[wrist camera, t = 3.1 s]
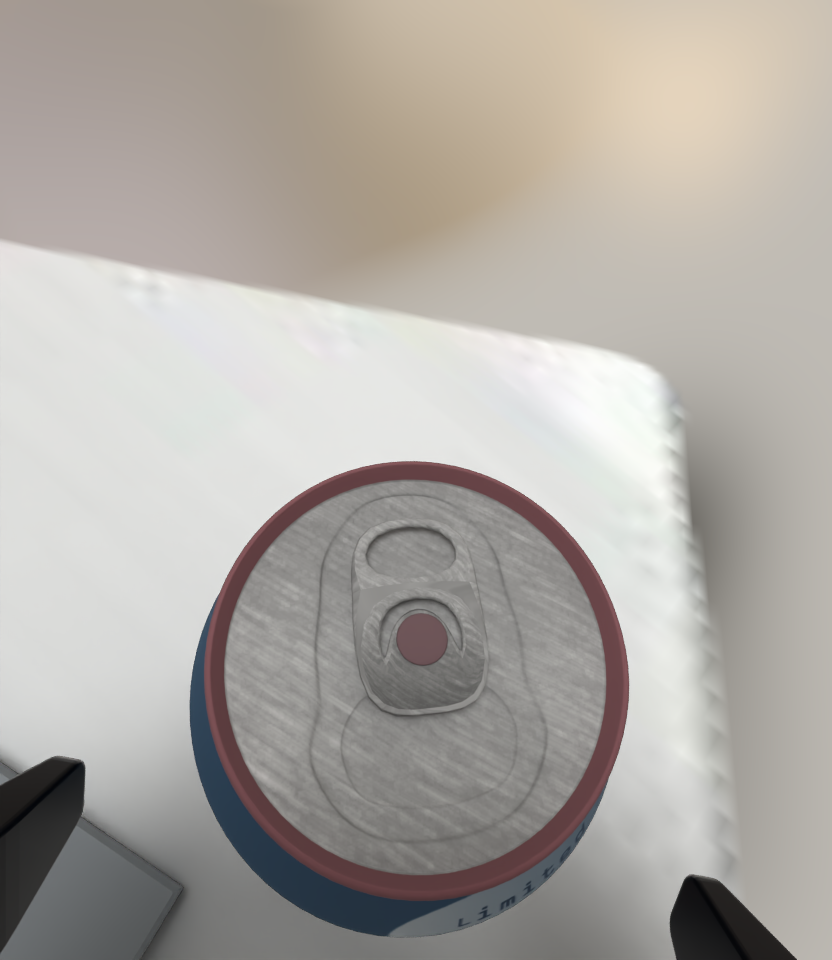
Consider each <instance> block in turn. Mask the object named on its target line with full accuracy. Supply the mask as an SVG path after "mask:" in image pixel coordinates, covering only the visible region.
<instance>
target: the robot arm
mask: <svg viewBox="0 0 832 960" xmlns="http://www.w3.org/2000/svg"><path fill="white" fill-rule="evenodd" d="M84 790H85V764H84V762H83V761H81V760H79V759H74V758H69V757H63V756H54V757H51V758H49V759H47V760H45V761H43V762H41V763H40V764H38V765H36V766H34V767H32V768H30V769H28V770H27V771H25V772H23V773H21V774H19V775H17V776H15V777H13V778H12V779H10V780H8V781H6V782H4V783H2V784H0V954H1V952H2V951H3V949H4V948H5V946H6V944H7V943H8V941H9V940H10V938H11V936H12V935H13V933H14V931H15V930H16V928H17V926H18V925H19V923H20V921H21V920H22V918H23V916H24V914H25V913H26V911H27V909H28V908H29V906H30V904H31V902H32V901H33V899H34V897H35V896H36V894H37V892H38V890H39V889H40V887H41V885H42V884H43V882H44V880H45V878H46V877H47V875H48V873H49V871H50V870H51V868H52V866H53V865H54V863H55V861H56V859H57V858H58V856H59V854H60V853H61V851H62V849H63V847H64V846H65V844H66V842H67V841H68V839H69V837H70V835H71V834H72V832H73V830H74V828H75V827H76V825H77V823H78V821H79V819H80V817H81V814H82V811H83V806H84ZM670 933H671V938H672V942H673V947H674V951H675V955H676V959H677V960H797V959H796V958H795V957H794V956H793V955H792V954H791V953H790V952H789V951H788V950H787V949H786V948H785V947H784V946H783V945H782V944H781V943H780V942H779V941H778V940H777V939H776V938H775V937H774V936H773V935H772V934H771V933H770V932H769V931H768V930H767V929H766V928H765V927H764V926H763V925H762V923H761V922H760V921H758V919H757V918H756V917H755V916H754V915H753V914H752V913H751V912H750V911H749V910H748V909H747V908H746V907H745V906H744V905H743V904H742V903H741V902H740V901H739V900H738V899H737V898H736V897H735V896H734V895H733V894H732V893H731V892H730V891H729V890H728V889H727V888H726V887H725V886H724V885H723V884H722V883H721V882H719V881H718V880H716V879H714V878H710V877H704V876H699V875H694V874H691V875H688V876H687V877H686V878H685V879H684V881H683V884H682V886H681V889H680V891H679V894H678V897H677V899H676V902H675V904H674V907H673V909H672V912H671V916H670Z"/></svg>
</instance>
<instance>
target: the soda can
mask: <svg viewBox="0 0 832 960" xmlns="http://www.w3.org/2000/svg"><path fill="white" fill-rule="evenodd" d="M628 701H629V673H628V662H627V655H626V649H625V644H624V640H623V635H622V631H621V628H620V624H619V621H618V618H617V615H616V612H615V609H614V606H613V604H612V601H611V599H610V597H609V594H608V592H607V590H606V588H605V586H604V584H603V582H602V580H601V578H600V576H599V574H598V573H597V571H596V569H595V568H594V566H593V564H592V563H591V561H590V560H589V558H588V557H587V555H586V554H585V552H584V551H583V550H582V548H581V547H580V546H579V544H578V543H577V542H576V541H575V539H574V538H573V537H572V536H571V535H570V534H569V533H568V532H567V530H566V529H565V528H564V527H563V526H562V525H561V524H560V523H559V522H558V521H557V520H556V519H555V518H554V517H552V516H551V515H550V514H549V513H548V512H546V511H545V510H544V509H543V508H542V507H540V506H539V505H538V504H536V503H535V502H534V501H532V500H531V499H529V498H528V497H526V496H525V495H523V494H522V493H520V492H518V491H517V490H515V489H513V488H511V487H510V486H508V485H506V484H504V483H502V482H500V481H498V480H495V479H493V478H491V477H488V476H486V475H483V474H480V473H477V472H474V471H471V470H468V469H464V468H460V467H456V466H451V465H446V464H440V463H432V462H418V461H402V462H389V463H382V464H375V465H370V466H365V467H361V468H357V469H354V470H350V471H347V472H344V473H342V474H339V475H336V476H334V477H331V478H329V479H327V480H325V481H322V482H321V483H319V484H317V485H315V486H313V487H311V488H309V489H308V490H306V491H304V492H303V493H301V494H300V495H298V496H297V497H295V498H294V499H292V500H291V501H290V502H288V503H287V504H286V505H284V506H283V507H282V508H281V509H280V510H278V511H277V512H276V513H275V514H274V515H273V516H272V517H271V518H270V519H269V520H268V521H267V522H266V523H265V524H264V525H263V526H262V527H261V528H260V529H259V530H258V531H257V532H256V533H255V535H254V536H253V537H252V538H251V540H250V541H249V542H248V544H247V545H246V546H245V547H244V549H243V550H242V552H241V553H240V555H239V557H238V558H237V560H236V561H235V563H234V565H233V567H232V568H231V570H230V572H229V574H228V576H227V578H226V580H225V582H224V584H223V586H222V589H221V591H220V593H219V595H218V597H217V598H216V600H215V602H214V604H213V607H212V609H211V611H210V613H209V615H208V618H207V620H206V623H205V626H204V628H203V631H202V634H201V637H200V641H199V644H198V648H197V652H196V656H195V661H194V666H193V672H192V680H191V690H190V727H191V737H192V745H193V750H194V756H195V761H196V765H197V769H198V772H199V776H200V780H201V783H202V786H203V788H204V791H205V794H206V797H207V799H208V802H209V804H210V806H211V808H212V810H213V812H214V815H215V817H216V819H217V821H218V822H219V824H220V826H221V828H222V829H223V831H224V833H225V835H226V836H227V838H228V839H229V841H230V842H231V843H232V845H233V846H234V848H235V849H236V851H237V852H238V853H239V855H240V856H241V857H242V858H243V859H244V860H245V862H246V863H247V864H248V865H249V866H250V868H251V869H252V870H253V871H254V872H255V873H256V874H257V875H258V876H259V877H260V878H261V879H262V880H263V881H264V882H265V883H266V884H268V885H269V886H270V887H271V888H273V889H274V890H275V891H276V892H277V893H279V894H280V895H281V896H282V897H284V898H285V899H287V900H288V901H290V902H291V903H293V904H294V905H296V906H297V907H299V908H301V909H302V910H304V911H306V912H308V913H310V914H312V915H314V916H316V917H317V918H320V919H322V920H324V921H327V922H329V923H332V924H334V925H337V926H340V927H343V928H346V929H350V930H353V931H356V932H361V933H366V934H372V935H377V936H387V937H424V936H433V935H440V934H445V933H449V932H454V931H458V930H462V929H465V928H468V927H470V926H473V925H476V924H479V923H482V922H484V921H486V920H488V919H490V918H493V917H495V916H497V915H499V914H501V913H502V912H504V911H506V910H508V909H509V908H511V907H513V906H515V905H516V904H518V903H519V902H520V901H522V900H523V899H525V898H526V897H527V896H529V895H530V894H532V893H533V892H534V891H535V890H536V889H537V888H539V887H540V886H541V885H542V884H543V883H544V882H546V881H547V880H548V879H549V878H550V877H551V876H552V875H553V873H554V872H555V871H556V870H557V869H558V868H559V867H560V866H561V865H562V864H563V863H564V861H565V860H566V859H567V858H568V856H569V855H570V854H571V853H572V851H573V850H574V848H575V847H576V845H577V844H578V842H579V841H580V839H581V838H582V836H583V835H584V833H585V831H586V830H587V828H588V826H589V824H590V822H591V821H592V819H593V817H594V815H595V812H596V810H597V808H598V806H599V804H600V801H601V799H602V796H603V793H604V790H605V788H606V785H607V782H608V778H609V776H610V773H611V771H612V769H613V766H614V763H615V761H616V758H617V755H618V752H619V749H620V745H621V741H622V738H623V734H624V729H625V724H626V719H627V710H628Z"/></svg>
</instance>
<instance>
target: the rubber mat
mask: <svg viewBox="0 0 832 960" xmlns="http://www.w3.org/2000/svg"><path fill="white" fill-rule="evenodd" d="M17 775H19V774H18V773H16V772H15V771H13V770H12V769H10V768H9V767H7V766H6V765H4V764H3V763H1V762H0V784H2V783H4V782H6V781H8V780H10V779H12V778H13V777H15V776H17ZM183 888H184V887H183V886H181V885H180V884H179V883H177V882H176V881H174V880H173V879H171V878H170V877H168V876H167V875H165V874H164V873H162V872H161V871H159V870H158V869H157V868H155V867H154V866H152V865H151V864H149V863H148V862H146V861H145V860H143V859H142V858H140V857H139V856H138V855H136V854H135V853H133V852H132V851H130V850H129V849H127V848H126V847H124V846H123V845H121V844H120V843H118V842H117V841H116V840H114V839H113V838H111V837H110V836H108V835H107V834H105V833H104V832H102V831H101V830H99V829H98V828H97V827H95V826H94V825H92V824H91V823H89V822H88V821H86V820H85V819H83V818H82V817H80V819H79V821H78V823H77V825H76V827H75V828H74V830H73V832H72V834H71V835H70V837H69V839H68V841H67V842H66V844H65V846H64V847H63V849H62V851H61V853H60V854H59V856H58V858H57V859H56V861H55V863H54V865H53V866H52V868H51V870H50V871H49V873H48V875H47V877H46V878H45V880H44V882H43V884H42V885H41V887H40V889H39V890H38V892H37V894H36V896H35V897H34V899H33V901H32V902H31V904H30V906H29V908H28V909H27V911H26V913H25V914H24V916H23V918H22V920H21V921H20V923H19V925H18V926H17V928H16V930H15V931H14V933H13V935H12V936H11V938H10V940H9V941H8V943H7V944H6V946H5V948H4V949H3V951H2V952H1V954H0V960H140V959H141V958H142V956H143V954H144V953H145V951H146V949H147V948H148V946H149V944H150V943H151V941H152V939H153V938H154V936H155V934H156V933H157V931H158V929H159V928H160V926H161V924H162V923H163V921H164V919H165V918H166V916H167V914H168V913H169V911H170V909H171V908H172V906H173V904H174V903H175V901H176V899H177V898H178V896H179V894H180V893H181V891H182V889H183Z"/></svg>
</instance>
